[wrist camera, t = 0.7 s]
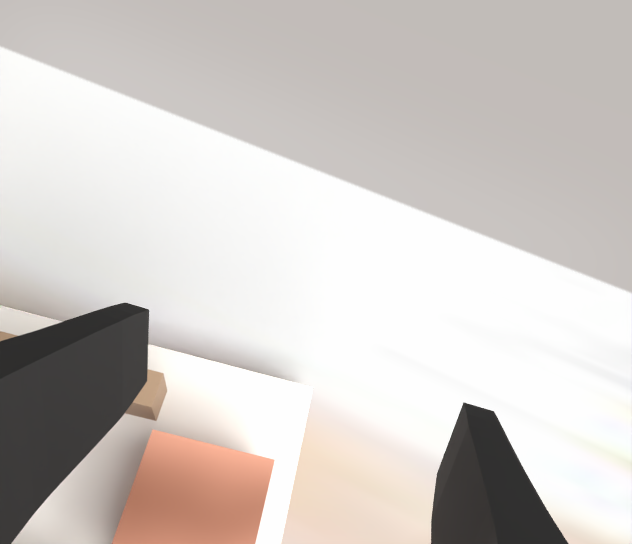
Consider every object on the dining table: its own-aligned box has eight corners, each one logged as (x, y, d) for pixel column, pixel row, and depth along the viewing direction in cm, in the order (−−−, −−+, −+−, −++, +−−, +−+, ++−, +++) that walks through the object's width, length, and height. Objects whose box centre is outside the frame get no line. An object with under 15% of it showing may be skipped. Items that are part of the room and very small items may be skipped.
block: (234, 594, 21) (241, 605, 18) (117, 567, 21) (100, 574, 17) (263, 471, 24) (274, 459, 20) (159, 445, 23) (152, 429, 20)
